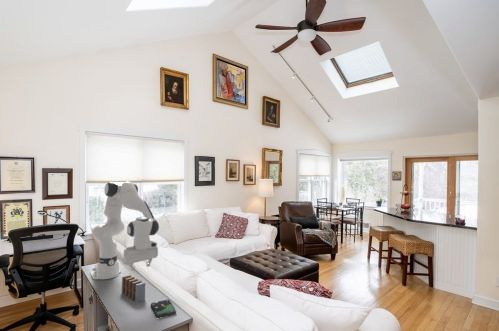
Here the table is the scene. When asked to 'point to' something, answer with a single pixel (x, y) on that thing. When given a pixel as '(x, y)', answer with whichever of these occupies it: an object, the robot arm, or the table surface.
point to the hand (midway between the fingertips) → (140, 268)
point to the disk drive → (163, 308)
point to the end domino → (140, 292)
